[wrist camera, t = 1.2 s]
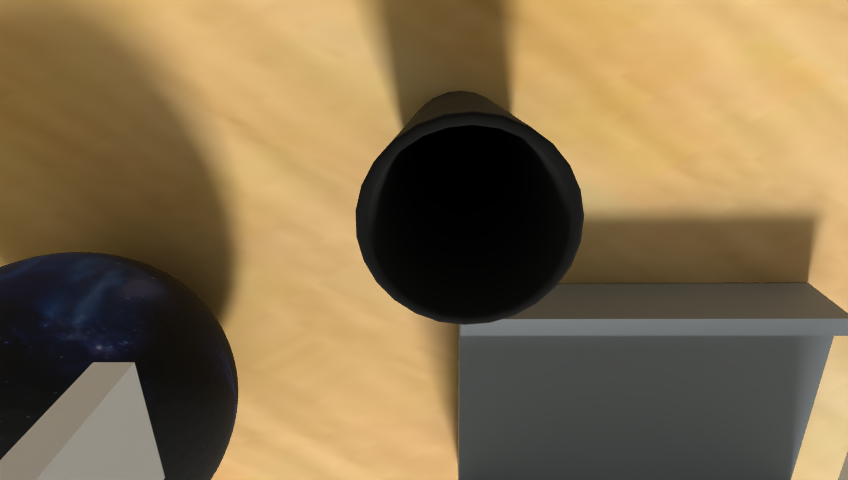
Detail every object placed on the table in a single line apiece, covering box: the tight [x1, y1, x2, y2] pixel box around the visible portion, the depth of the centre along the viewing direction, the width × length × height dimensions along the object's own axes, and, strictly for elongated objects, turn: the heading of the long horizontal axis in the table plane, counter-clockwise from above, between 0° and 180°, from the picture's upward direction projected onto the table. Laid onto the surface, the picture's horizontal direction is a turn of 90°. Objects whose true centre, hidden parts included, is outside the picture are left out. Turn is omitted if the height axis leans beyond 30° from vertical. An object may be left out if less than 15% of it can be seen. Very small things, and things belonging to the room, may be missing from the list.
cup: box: [356, 91, 584, 325], centre depth 25 cm, size 8×8×12 cm
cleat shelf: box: [458, 283, 848, 480], centre depth 29 cm, size 14×20×14 cm
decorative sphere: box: [0, 252, 238, 480], centre depth 28 cm, size 15×15×15 cm
